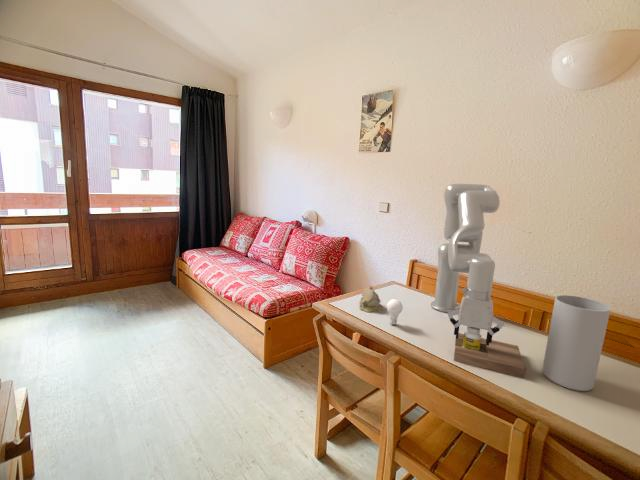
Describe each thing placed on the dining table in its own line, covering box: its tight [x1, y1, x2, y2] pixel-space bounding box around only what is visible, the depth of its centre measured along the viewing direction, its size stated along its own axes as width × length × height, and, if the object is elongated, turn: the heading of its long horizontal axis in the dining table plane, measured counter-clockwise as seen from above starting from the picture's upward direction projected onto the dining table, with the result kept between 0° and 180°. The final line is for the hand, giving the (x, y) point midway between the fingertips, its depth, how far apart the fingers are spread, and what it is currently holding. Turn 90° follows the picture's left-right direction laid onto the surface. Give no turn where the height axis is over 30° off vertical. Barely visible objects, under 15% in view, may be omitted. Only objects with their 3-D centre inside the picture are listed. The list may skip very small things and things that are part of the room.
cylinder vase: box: [541, 294, 611, 392], centre depth 93 cm, size 12×12×25 cm
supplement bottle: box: [462, 326, 482, 351], centre depth 107 cm, size 5×5×10 cm
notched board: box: [453, 332, 526, 379], centre depth 106 cm, size 16×20×3 cm
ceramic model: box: [358, 285, 383, 313], centre depth 146 cm, size 14×11×10 cm
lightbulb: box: [386, 298, 404, 326], centre depth 127 cm, size 6×6×11 cm
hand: (471, 340), depth 107 cm, fingers open, 9 cm apart
